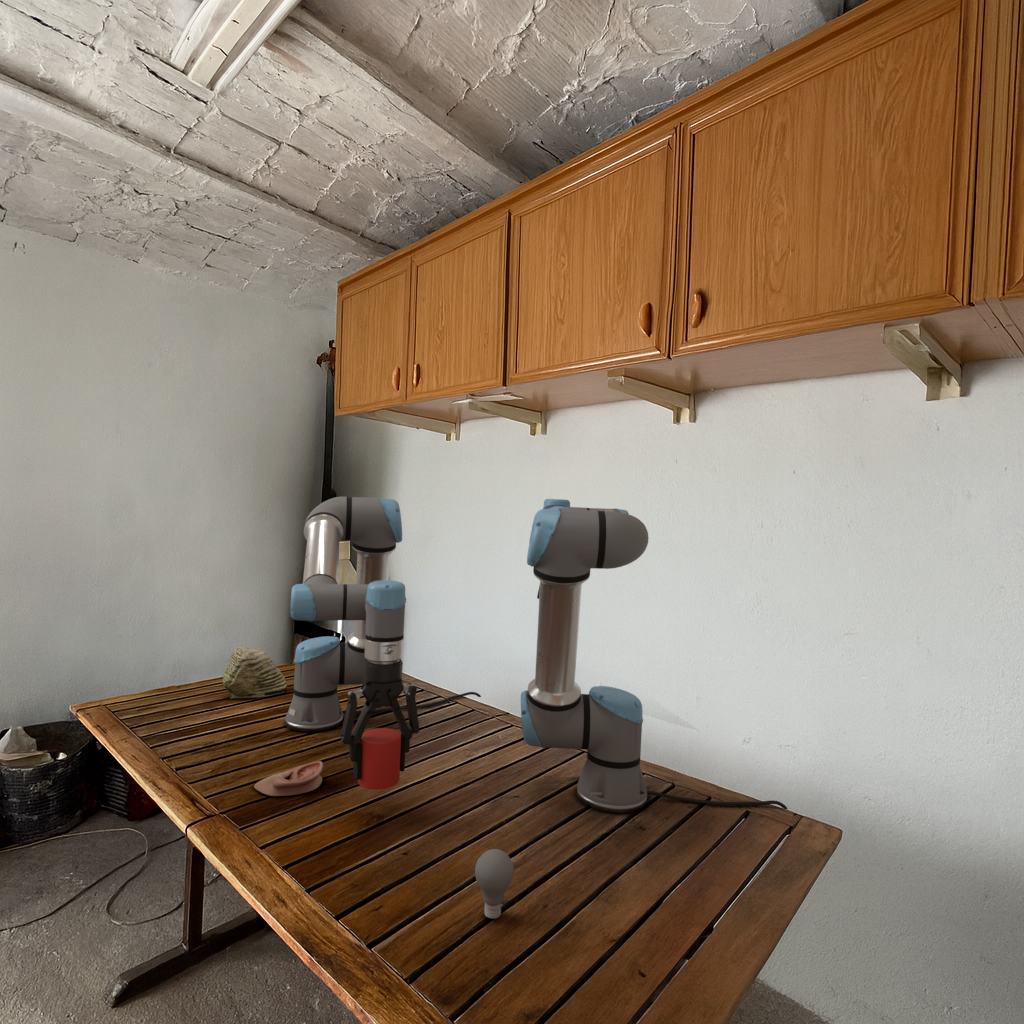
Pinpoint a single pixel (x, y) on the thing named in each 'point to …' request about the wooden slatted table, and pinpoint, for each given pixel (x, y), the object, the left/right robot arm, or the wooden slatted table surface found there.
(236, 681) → the fossil
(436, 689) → the wooden slatted table surface
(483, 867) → the light bulb
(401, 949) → the wooden slatted table surface
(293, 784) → the anatomical model
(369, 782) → the canister
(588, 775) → the right robot arm
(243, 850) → the wooden slatted table surface
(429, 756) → the wooden slatted table surface
